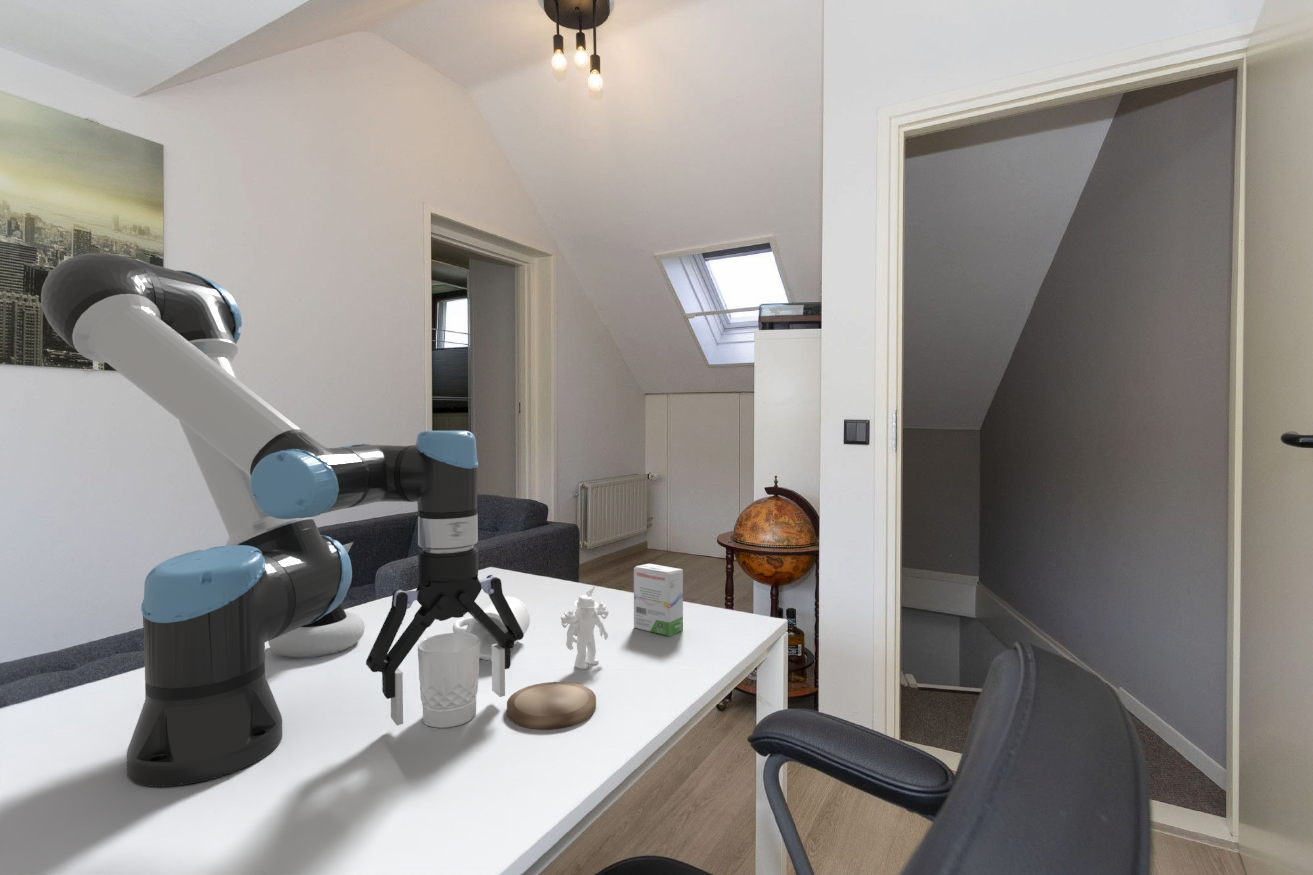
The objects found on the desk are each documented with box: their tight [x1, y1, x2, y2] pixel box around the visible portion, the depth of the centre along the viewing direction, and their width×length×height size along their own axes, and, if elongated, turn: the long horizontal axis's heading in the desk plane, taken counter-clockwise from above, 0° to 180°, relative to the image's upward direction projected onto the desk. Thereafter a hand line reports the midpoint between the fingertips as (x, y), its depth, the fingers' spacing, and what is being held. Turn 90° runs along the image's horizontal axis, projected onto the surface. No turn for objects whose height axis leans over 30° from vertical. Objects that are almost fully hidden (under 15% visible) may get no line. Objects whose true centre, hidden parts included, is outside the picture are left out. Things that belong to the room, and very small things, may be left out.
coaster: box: [506, 681, 597, 730], centre depth 88 cm, size 12×12×1 cm
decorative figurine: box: [267, 541, 366, 659], centre depth 112 cm, size 15×15×20 cm
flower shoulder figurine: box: [560, 586, 609, 670], centre depth 104 cm, size 9×4×12 cm, turn 137°
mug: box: [452, 596, 531, 661], centre depth 111 cm, size 12×10×8 cm
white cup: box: [417, 632, 480, 729], centre depth 86 cm, size 8×8×10 cm
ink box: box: [633, 563, 684, 637], centre depth 122 cm, size 8×5×12 cm, turn 53°
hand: (450, 706), depth 86 cm, fingers open, 13 cm apart
